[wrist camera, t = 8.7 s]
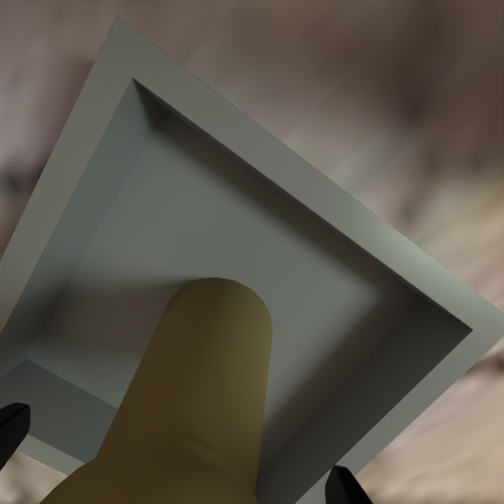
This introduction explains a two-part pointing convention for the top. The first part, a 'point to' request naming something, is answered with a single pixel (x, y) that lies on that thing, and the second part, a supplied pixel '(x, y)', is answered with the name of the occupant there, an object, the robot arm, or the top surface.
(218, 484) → the olive gourd-shaped piece
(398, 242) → the tray
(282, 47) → the top surface
